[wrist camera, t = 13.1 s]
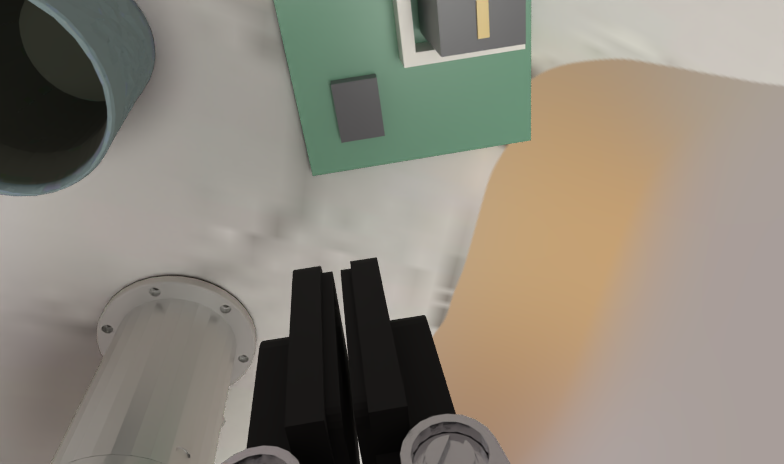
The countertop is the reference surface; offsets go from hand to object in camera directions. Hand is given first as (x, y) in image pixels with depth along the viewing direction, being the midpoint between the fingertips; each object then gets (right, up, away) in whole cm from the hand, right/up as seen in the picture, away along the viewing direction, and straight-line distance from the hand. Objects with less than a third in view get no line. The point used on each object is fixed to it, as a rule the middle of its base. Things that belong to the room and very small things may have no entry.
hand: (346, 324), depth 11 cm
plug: (+5, +17, +22) cm, 28 cm away
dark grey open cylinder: (-18, +14, +23) cm, 33 cm away
